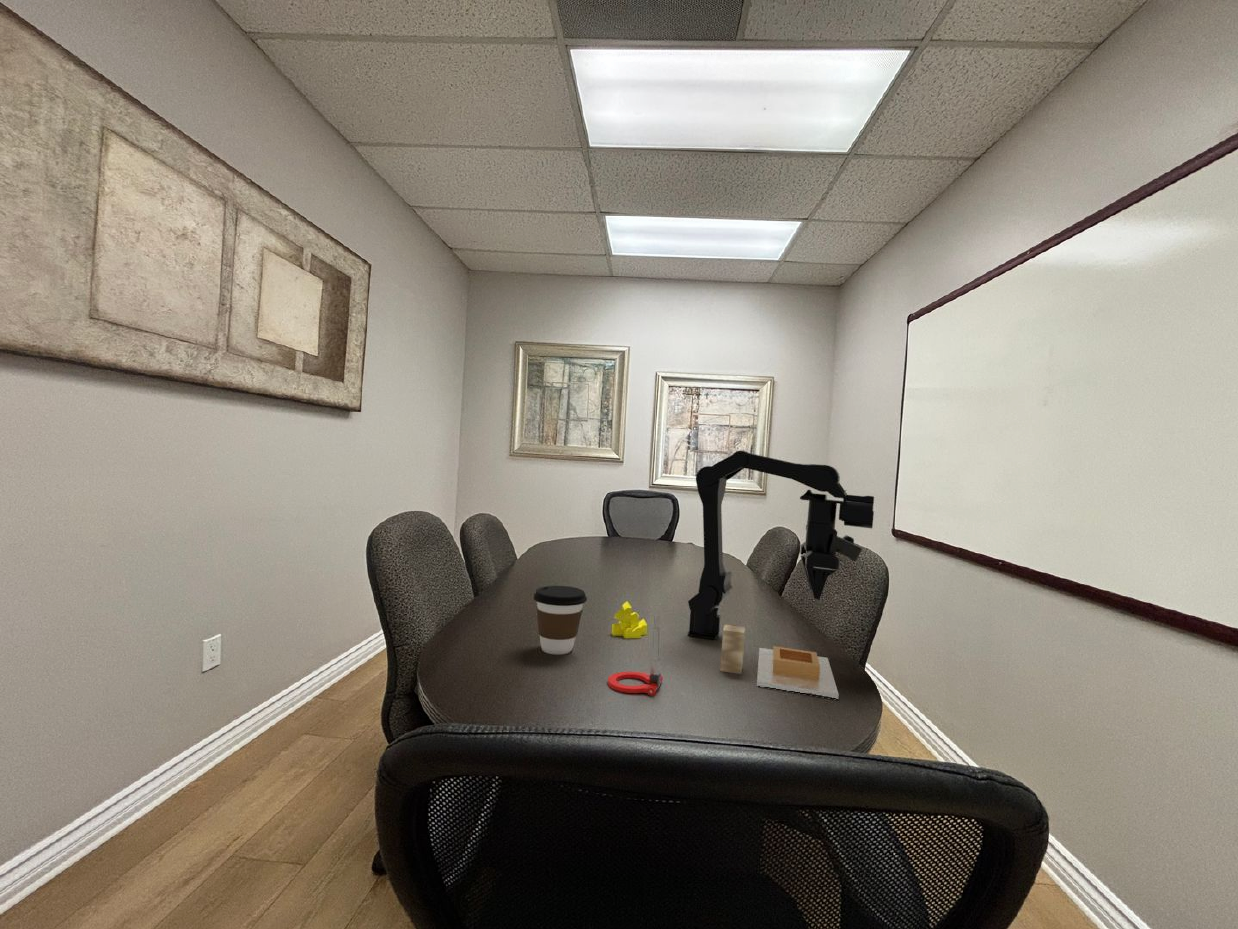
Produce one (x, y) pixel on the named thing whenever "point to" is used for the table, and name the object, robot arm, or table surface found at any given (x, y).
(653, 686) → the tow hook
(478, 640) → the table surface
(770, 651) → the wooden socket on plate
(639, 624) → the yellow blocky cluster
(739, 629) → the cream upright block
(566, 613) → the coffee cup
